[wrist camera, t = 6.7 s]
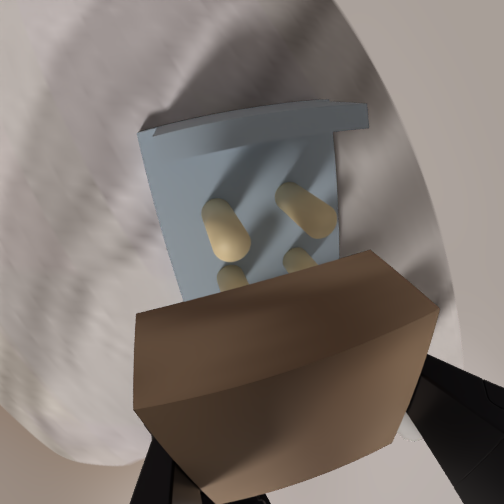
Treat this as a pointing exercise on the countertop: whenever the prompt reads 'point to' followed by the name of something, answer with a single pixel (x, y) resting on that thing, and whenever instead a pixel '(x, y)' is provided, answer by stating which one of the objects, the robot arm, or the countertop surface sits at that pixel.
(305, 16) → the countertop surface
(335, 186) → the peg stand
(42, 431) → the countertop surface
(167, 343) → the walnut block
